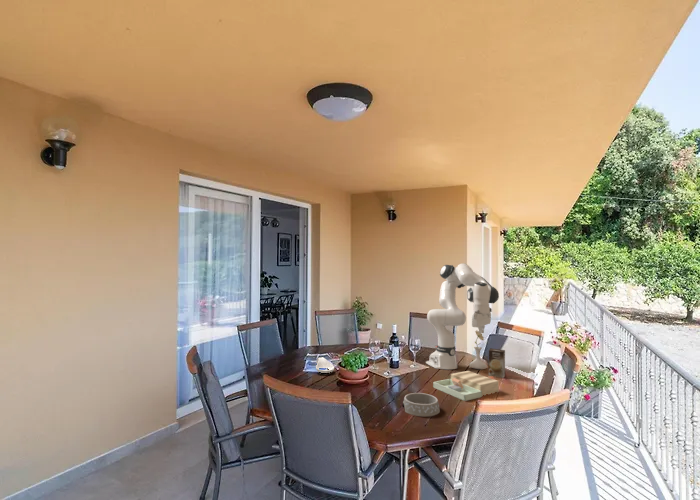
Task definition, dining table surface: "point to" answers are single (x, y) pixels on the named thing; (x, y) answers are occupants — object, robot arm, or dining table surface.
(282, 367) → the dining table surface
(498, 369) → the coffee box
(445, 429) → the dining table surface
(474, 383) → the bench slab
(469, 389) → the tray
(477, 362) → the flower in vase
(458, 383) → the terracotta tile
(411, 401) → the dog bowl
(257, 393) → the dining table surface
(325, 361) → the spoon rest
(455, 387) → the slate tile
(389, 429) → the dining table surface
